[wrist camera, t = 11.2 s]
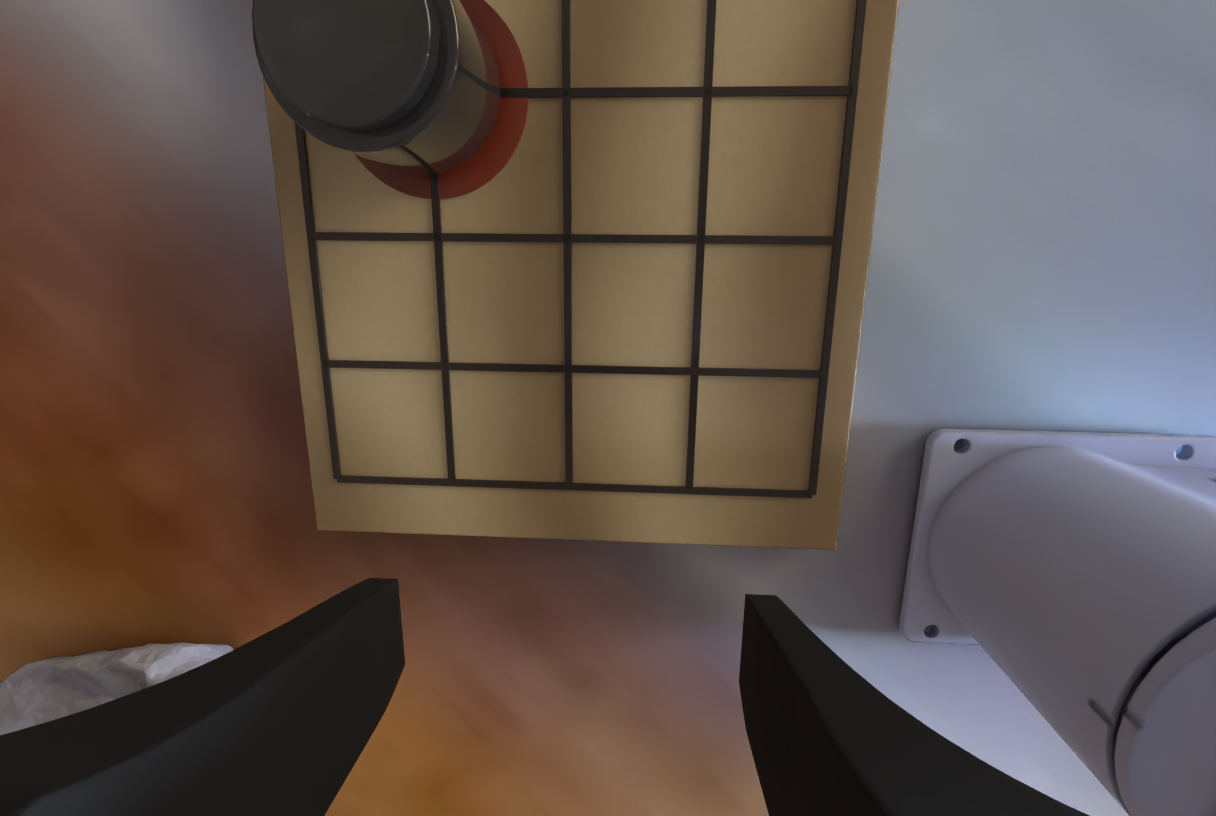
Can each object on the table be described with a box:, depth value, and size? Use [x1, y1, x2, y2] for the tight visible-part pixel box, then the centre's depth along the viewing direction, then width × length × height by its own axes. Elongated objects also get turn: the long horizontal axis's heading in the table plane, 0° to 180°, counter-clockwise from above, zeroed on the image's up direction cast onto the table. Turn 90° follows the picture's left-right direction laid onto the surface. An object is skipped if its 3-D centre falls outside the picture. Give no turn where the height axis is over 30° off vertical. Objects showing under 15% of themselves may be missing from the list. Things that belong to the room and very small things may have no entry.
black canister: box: [252, 0, 500, 175], centre depth 15 cm, size 5×5×5 cm
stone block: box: [0, 642, 234, 735], centre depth 24 cm, size 12×5×10 cm
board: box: [263, 0, 899, 550], centre depth 18 cm, size 18×20×2 cm
